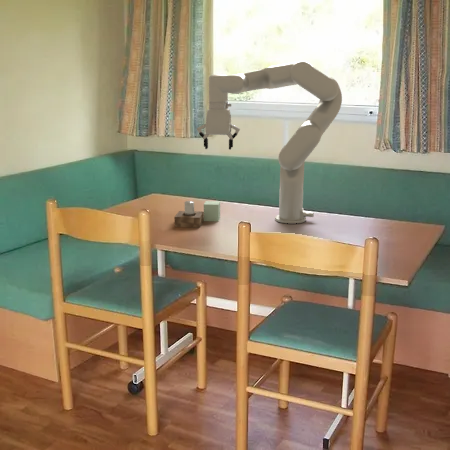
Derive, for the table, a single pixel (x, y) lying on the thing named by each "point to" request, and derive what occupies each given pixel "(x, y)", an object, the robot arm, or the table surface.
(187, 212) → the metal peg
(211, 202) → the green block
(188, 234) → the table surface
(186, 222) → the socket block
